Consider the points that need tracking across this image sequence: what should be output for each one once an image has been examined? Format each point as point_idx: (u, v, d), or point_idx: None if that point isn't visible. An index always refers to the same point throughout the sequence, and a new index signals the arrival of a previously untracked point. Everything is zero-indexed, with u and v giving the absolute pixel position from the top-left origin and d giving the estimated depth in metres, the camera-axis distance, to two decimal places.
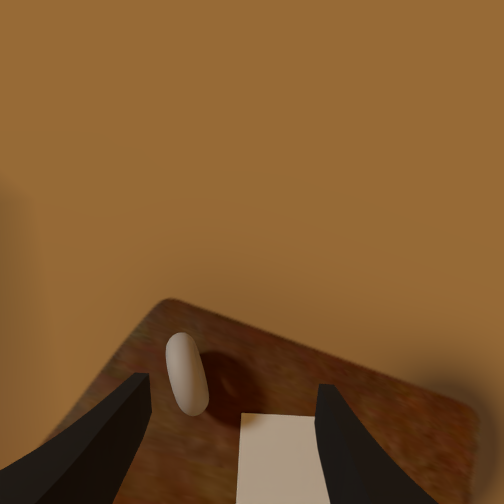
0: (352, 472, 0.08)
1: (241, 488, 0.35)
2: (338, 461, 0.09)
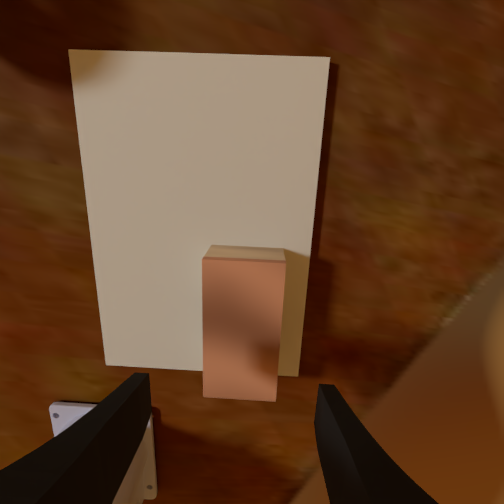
0: (352, 472, 0.08)
1: (94, 197, 0.18)
2: (337, 461, 0.09)
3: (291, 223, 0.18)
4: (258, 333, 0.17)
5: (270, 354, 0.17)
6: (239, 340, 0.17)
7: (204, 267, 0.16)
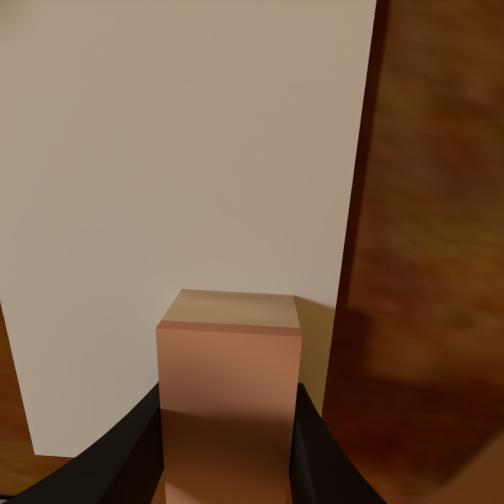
0: (306, 469, 0.08)
1: None
2: (297, 459, 0.09)
3: (307, 257, 0.11)
4: (255, 443, 0.10)
5: (274, 474, 0.11)
6: (223, 452, 0.10)
7: (160, 341, 0.09)
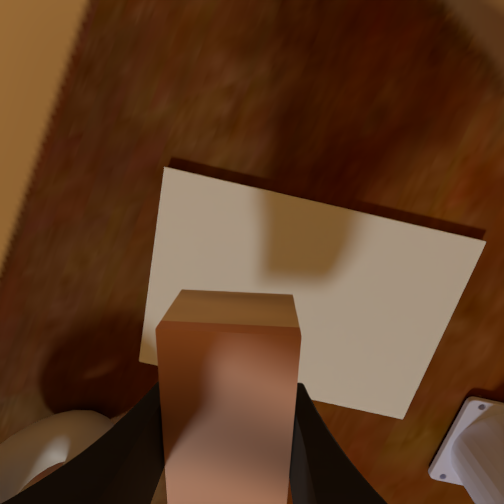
0: (306, 469, 0.08)
1: None
2: (298, 458, 0.09)
3: (303, 221, 0.18)
4: (255, 443, 0.10)
5: (275, 473, 0.11)
6: (223, 452, 0.10)
7: (160, 341, 0.09)
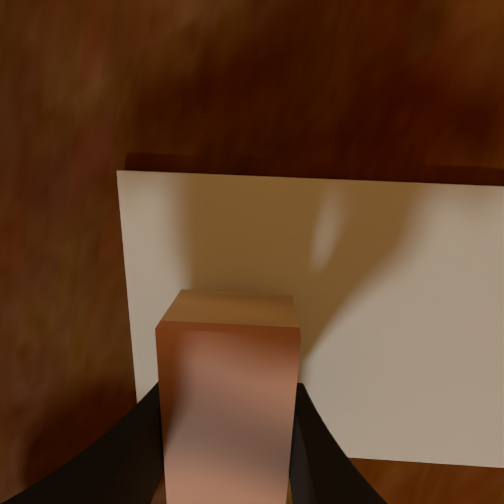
0: (306, 469, 0.08)
1: None
2: (297, 458, 0.09)
3: (338, 214, 0.12)
4: (254, 443, 0.10)
5: (274, 473, 0.11)
6: (223, 452, 0.10)
7: (160, 341, 0.09)
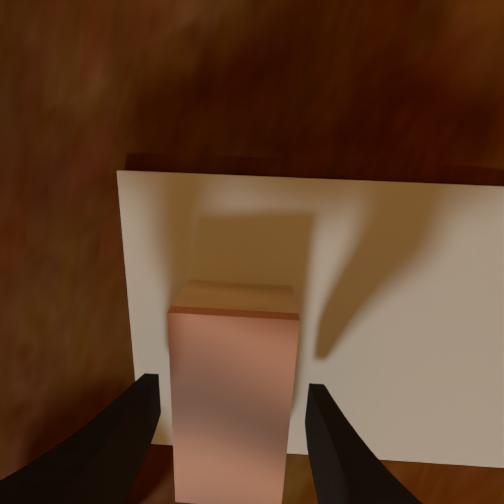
0: (337, 471, 0.08)
1: (289, 445, 0.15)
2: (325, 460, 0.09)
3: (338, 214, 0.12)
4: (256, 420, 0.11)
5: (273, 448, 0.12)
6: (227, 428, 0.11)
7: (171, 324, 0.10)
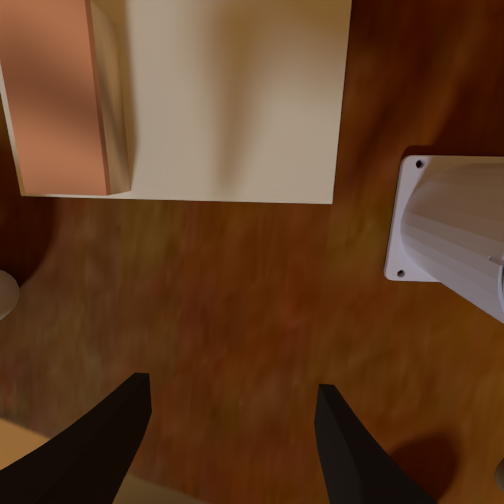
0: (352, 472, 0.08)
1: (139, 190, 0.19)
2: (337, 461, 0.09)
3: None
4: (70, 99, 0.15)
5: (89, 128, 0.15)
6: (50, 109, 0.15)
7: None
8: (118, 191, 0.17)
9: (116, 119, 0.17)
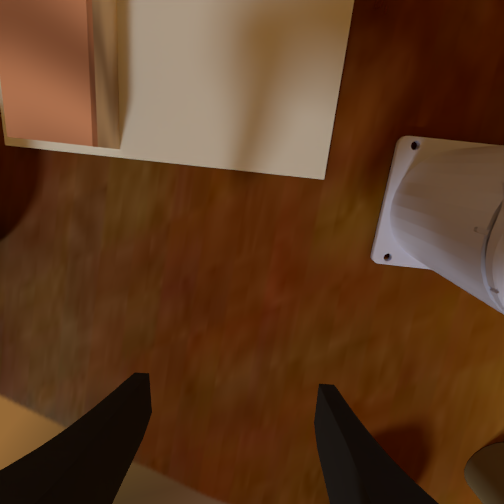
0: (352, 472, 0.08)
1: (129, 149, 0.18)
2: (337, 461, 0.09)
3: None
4: (61, 39, 0.14)
5: (78, 72, 0.14)
6: (39, 49, 0.14)
7: None
8: (106, 145, 0.17)
9: (109, 70, 0.16)
